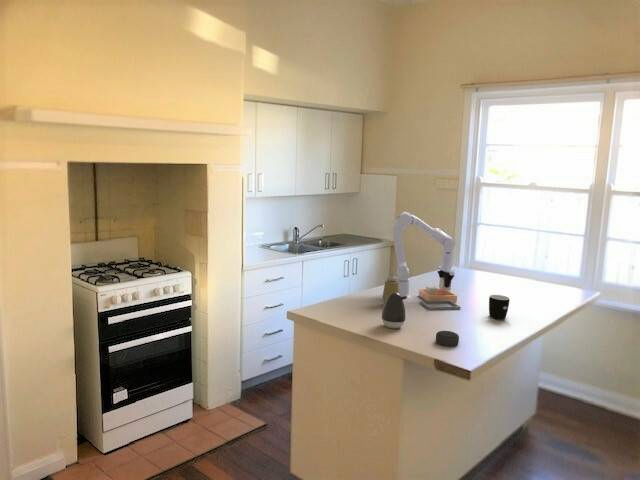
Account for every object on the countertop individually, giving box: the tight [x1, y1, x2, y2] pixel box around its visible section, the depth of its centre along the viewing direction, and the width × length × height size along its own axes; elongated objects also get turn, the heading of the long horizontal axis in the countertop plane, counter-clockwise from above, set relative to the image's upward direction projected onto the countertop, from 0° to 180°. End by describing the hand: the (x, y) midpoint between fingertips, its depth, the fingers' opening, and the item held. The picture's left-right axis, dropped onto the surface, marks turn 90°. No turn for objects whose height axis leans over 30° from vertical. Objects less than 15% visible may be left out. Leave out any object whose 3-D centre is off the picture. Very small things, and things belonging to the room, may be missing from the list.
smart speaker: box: [435, 330, 460, 347], centre depth 213 cm, size 9×9×4 cm
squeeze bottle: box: [382, 269, 399, 305], centre depth 262 cm, size 8×8×18 cm
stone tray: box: [419, 300, 461, 311], centre depth 263 cm, size 16×11×2 cm
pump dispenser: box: [381, 292, 408, 330], centre depth 229 cm, size 10×10×15 cm
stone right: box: [438, 277, 452, 292], centre depth 277 cm, size 4×4×6 cm
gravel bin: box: [418, 288, 458, 303], centre depth 278 cm, size 15×13×4 cm
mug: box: [488, 294, 511, 321], centre depth 251 cm, size 12×9×10 cm
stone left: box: [425, 285, 439, 296], centre depth 277 cm, size 4×4×6 cm
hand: (444, 285), depth 278 cm, fingers closed on stone right, 4 cm apart
